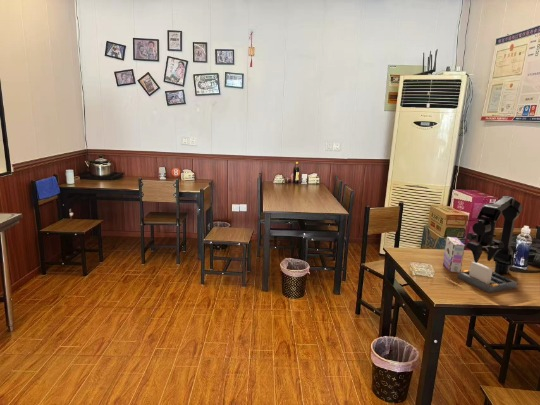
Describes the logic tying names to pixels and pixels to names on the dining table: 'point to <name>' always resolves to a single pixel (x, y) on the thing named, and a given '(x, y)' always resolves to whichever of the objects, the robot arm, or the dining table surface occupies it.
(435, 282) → the dining table surface
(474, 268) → the panel
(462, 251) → the candy box
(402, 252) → the dining table surface
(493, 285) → the rack
